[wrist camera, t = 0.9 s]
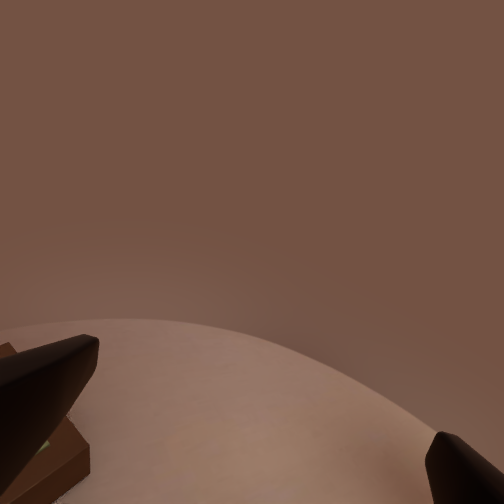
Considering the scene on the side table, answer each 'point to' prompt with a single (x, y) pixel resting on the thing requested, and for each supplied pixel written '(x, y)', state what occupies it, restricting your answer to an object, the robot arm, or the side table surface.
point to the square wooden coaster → (50, 464)
